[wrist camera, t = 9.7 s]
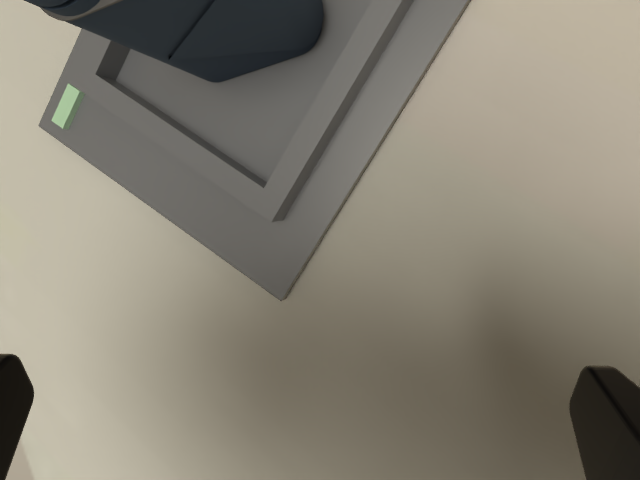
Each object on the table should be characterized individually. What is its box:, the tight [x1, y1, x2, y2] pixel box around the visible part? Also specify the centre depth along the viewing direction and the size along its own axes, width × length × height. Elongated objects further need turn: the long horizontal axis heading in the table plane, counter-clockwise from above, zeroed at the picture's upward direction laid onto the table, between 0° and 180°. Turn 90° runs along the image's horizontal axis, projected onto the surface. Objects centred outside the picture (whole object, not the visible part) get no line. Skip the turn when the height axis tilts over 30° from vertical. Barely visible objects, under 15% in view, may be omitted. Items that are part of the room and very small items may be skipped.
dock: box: [39, 0, 471, 301], centre depth 18 cm, size 14×12×2 cm
